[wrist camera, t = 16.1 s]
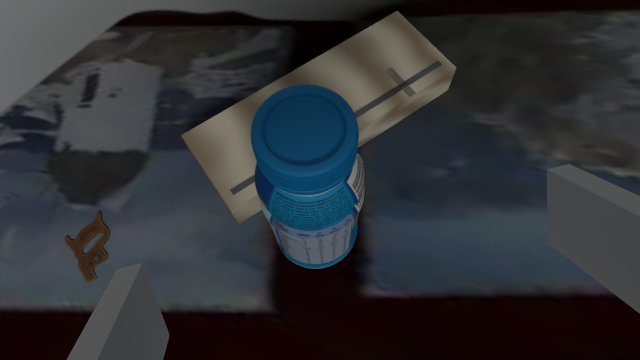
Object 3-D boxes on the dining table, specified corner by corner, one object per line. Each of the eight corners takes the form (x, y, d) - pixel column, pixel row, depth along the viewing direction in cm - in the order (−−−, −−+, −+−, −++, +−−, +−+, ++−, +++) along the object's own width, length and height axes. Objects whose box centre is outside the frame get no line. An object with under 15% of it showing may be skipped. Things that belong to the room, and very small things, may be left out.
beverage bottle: (311, 289, 43) (295, 219, 25) (257, 226, 46) (207, 122, 28) (375, 233, 46) (403, 130, 27) (320, 176, 48) (311, 48, 30)
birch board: (393, 35, 56) (397, 10, 52) (447, 90, 52) (456, 67, 49) (192, 153, 50) (180, 134, 46) (238, 224, 46) (230, 210, 43)
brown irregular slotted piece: (222, 419, 40) (220, 419, 39) (176, 455, 39) (173, 456, 38) (104, 210, 48) (101, 207, 47) (64, 235, 47) (60, 233, 46)
